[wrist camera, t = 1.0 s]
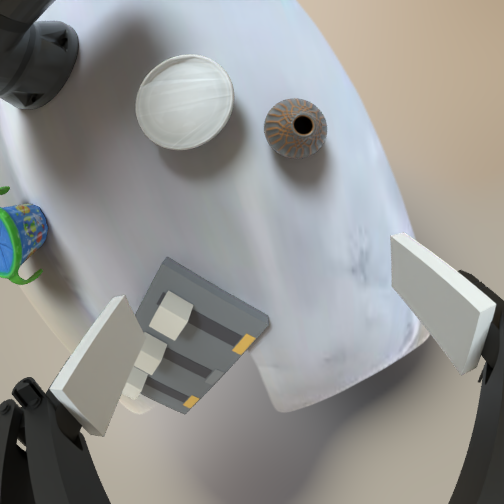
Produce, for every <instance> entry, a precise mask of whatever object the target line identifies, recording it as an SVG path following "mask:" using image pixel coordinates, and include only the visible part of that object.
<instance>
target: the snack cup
mask: <svg viewBox="0 0 504 504" xmlns="http://www.w3.org/2000/svg"><path fill="white" fill-rule="evenodd" d="M9 189H10V187H7V186H5V187H1V188H0V195H3V194H5V193H7V192H8V191H9ZM47 231H48V226H47V224H46V219H45V217H44V215H43V213H42V212H41V210H40V207H38V206H35V205H33V204H23V205H16V206H10V207H4V208H1V207H0V277H1V278H8V279H9V280H10V281H11V282H13V283H15V284H19V285H24V284H27V283H29V282H31V281H33V280H35V279H36V278H38V277H39V276H40V275H41V273H42V272H43V270H42V269H40V270H38V271H37V272H36V273H34V275H33V276H31V277H30V278H29V279H27V280H24V279H22V278H20V277H19V275H18V270H19V267H20V266H21V265H22V264H23V263H24V262H25V261H26V260H27V259H28V258H29V257H30V256H31V255H32V254H33V253H34V252H35V251H36V250H37V249H38V248H40V247H41V246H42V245H43V243H44V241H45V239H46V236H47Z"/></svg>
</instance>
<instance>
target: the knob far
mask: <svg viewBox="0 0 504 504" xmlns="http://www.w3.org/2000/svg"><path fill="white" fill-rule="evenodd" d="M147 376H148V374H147V373H145V372H143V371H141V370H139V369H138V368H136V367H134V366H133V368H132V371H131V373H130V375H129V378H128V380H127V382H126V384H125V387H124V389H123V391H122V394H124V395H126V396H127V397H129V398H131V399H133V400H136V399H137V397H138V395H139V394H140V392H141V391H142V389H143V386H144V384H145V381H146V378H147Z"/></svg>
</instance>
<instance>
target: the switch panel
mask: <svg viewBox="0 0 504 504" xmlns="http://www.w3.org/2000/svg"><path fill="white" fill-rule="evenodd" d="M168 290H169V291H170V292H172V293H174V294H175V295H177V296H179V297H181V298H182V299H184V300H186V301H187V302H189V303H191V304H193V308H192V311H191V314H190V317H189V320H188V322H187V324H186V325H185V327H184V328H183V330H182V331H181V332H180V334H179V335H178V337H177V338H176V340H175V341H174V340H172V339H170V338H169V337H167V336H165V335H163V334H162V333H160V332H158V331H156V330H155V329H153V328H151V327H149V325H150V323H151V321H152V319H153V317H154V315H155V313H156V311H157V309H158V307H159V306H160V304H161V302H162V300H163V299H164V297H165V295H166V293H167V292H168ZM135 317H136V319H137V321H138V323H139V325H140V327H141V329H142V331H143V332H146V333H148V334H150V335H152V336H153V337H155V338H157V339H159V340H160V341H162V342H164V343H166V344H167V347H166V350H165V352H164V355H163V358H162V360H161V362H160V364H159V365H158V367H157V368H156V370H155V371H154V373H153V374H152V375H150V374H148V373H147V374H148V376H147V378H146V381H145V384H144V386H143V389H142V391H141V392H140V393H141V394H142V395H144V396H146V397H148V398H150V399H152V400H154V401H156V402H159V403H161V404H163V405H165V406H167V407H169V408H171V409H174V410H176V411H178V412H180V413H183V414H186V413H187V412H188V411H189V410H190V409H191V408H192V407H193V406H194V405H195V404H196V403H197V402H198V401H199V400H200V399H201V398H202V397H203V396H204V395H205V394H206V393H207V392H208V391H209V390H210V389H211V388H212V387H213V385H215V383H216V382H217V381H218V380H219V379H220V378H221V377H222V376H223V375H224V374H225V373H226V372H227V371H228V370H229V369H230V368H231V366H232V365H233V364H234V363H235V362H236V361H237V360H238V359H239V358H240V357H241V356H242V354H243V353H244V352H245V351H246V350H247V349H248V348H249V347H250V346H251V345H252V343H253V342H254V341H255V340H256V339H257V338H258V337H259V336H260V334H261V333H262V332H263V331H264V330H265V329H266V328H267V326H268V325H269V321H268V315H266V314H264V313H262V312H261V311H259V310H257V309H255V308H254V307H252V306H250V305H248V304H246V303H245V302H243V301H241V300H239V299H238V298H236V297H234V296H232V295H231V294H229V293H227V292H225V291H224V290H222V289H220V288H219V287H217V286H215V285H213V284H212V283H210V282H208V281H207V280H205V279H203V278H202V277H200V276H198V275H197V274H195V273H193V272H192V271H190V270H188V269H187V268H185V267H183V266H182V265H180V264H178V263H177V262H175V261H174V260H172V259H170V258H169V257H166V259H165V260H164V262H163V263H162V265H161V267H160V268H159V270H158V272H157V274H156V276H155V278H154V280H153V281H152V283H151V285H150V287H149V289H148V291H147V293H146V295H145V297H144V299H143V301H142V303H141V305H140V307H139V308H138V310H137V312H136V314H135ZM134 367H135V366H134ZM136 368H137V367H136ZM138 369H139V368H138ZM139 370H141V369H139ZM141 371H143V370H141ZM143 372H144V371H143ZM145 373H146V372H145Z"/></svg>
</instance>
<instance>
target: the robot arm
mask: <svg viewBox="0 0 504 504" xmlns="http://www.w3.org/2000/svg"><path fill="white" fill-rule="evenodd" d="M54 1H55V0H0V98H1V99H3V100H5V101H6V102H8V103H10V104H12V105H13V106H15V107H17V108H21V109H35V108H38V107H41V106H43V105H44V104H46V103H47V102H49V101H50V100H51V99H52V98H53V97H54V96H55V95H56V94H57V93H58V92H59V91H60V89H61V88H62V87H63V85H64V84H65V82H66V80H67V79H68V77H69V75H70V73H71V71H72V69H73V66H74V63H75V60H76V57H77V51H78V38H77V34H76V32H75V30H74V29H73V28H72V27H71V26H69V25H67V24H65V23H63V22H60V21H39V22H35V21H36V20H37V19H38V18H39V17H40V16H41V15H42V14H43V12H44V11H45V10H46V9H47V8H48V7H49V6H50V5H51V4H52V3H53V2H54ZM390 240H391V266H392V287H393V289H394V290H395V291H396V292H397V293H398V294H399V296H400V297H401V298H402V299H403V300H404V302H405V303H406V304H407V305H408V306H409V308H410V309H411V310H412V311H413V313H414V314H415V315H416V316H417V317H418V319H419V320H420V321H421V322H422V324H423V325H424V326H425V328H426V329H427V330H428V331H429V333H430V334H431V335H432V337H433V338H434V339H435V340H436V342H437V343H438V344H439V346H440V347H441V348H442V350H443V351H444V353H445V354H446V355H447V357H448V358H449V359H450V361H451V362H452V364H453V365H454V366H455V367H456V369H457V371H458V372H459V373H460V374H461V375H463V374H465V373H467V372H469V371H471V370H473V369H475V368H476V367H477V365H478V362H479V359H480V357H481V355H482V357H483V358H484V359H485V360H486V363H485V365H484V368H483V370H482V373H481V375H480V377H479V380H478V382H481V380H482V386H481V393H480V399H479V405H478V410H477V415H476V420H475V425H474V429H473V433H472V437H471V441H470V444H469V448H468V451H467V455H466V458H465V461H464V464H463V467H462V470H461V474H460V476H459V479H458V482H457V484H456V487H455V489H454V492H453V494H452V497H451V499H450V501H449V504H504V301H503V300H502V299H501V298H500V297H499V296H498V295H496V294H495V293H494V292H493V291H492V290H490V289H489V288H488V287H485V285H484V284H483V283H482V282H479V280H478V279H477V278H475V277H474V276H473V275H472V274H469V273H467V272H464V271H461V270H459V271H456V270H455V269H453V268H452V267H451V266H450V265H448V264H447V263H446V262H444V261H443V260H442V259H440V258H439V257H438V256H436V255H435V254H434V253H432V252H431V251H430V250H428V249H427V248H425V247H424V246H422V245H421V244H420V243H418V242H417V241H416V240H414V239H413V238H411V237H410V236H408V235H407V234H405V233H404V232H403V233H399V234H395V235H391V236H390ZM145 340H146V336H145V334H144V332H143V331H142V329H141V327H140V325H139V323H138V321H137V319H136V317H135V315H134V313H133V311H132V309H131V307H130V305H129V303H128V300H127V298H126V296H125V295H123V296H118V297H113V298H112V300H111V301H110V302H109V304H108V305H107V306H106V308H105V309H104V310H103V312H102V313H101V314H100V316H99V317H98V318H97V320H96V321H95V322H94V324H93V325H92V326H91V328H90V329H89V331H88V332H87V333H86V335H85V336H84V338H83V339H82V340H81V342H80V343H79V345H78V346H77V348H76V349H75V350H74V352H73V353H72V355H71V356H70V357H69V358H68V360H67V361H66V363H65V365H64V367H62V369H61V370H60V373H59V374H58V375H57V376H56V378H55V380H54V381H53V383H52V384H51V386H50V387H49V389H48V391H47V392H46V394H45V393H44V392H43V390H42V389H41V388H40V387H39V385H38V384H37V383H36V382H35V380H34V379H33V378H32V377H27V378H24V379H23V380H21V381H20V382H18V383H17V384H16V386H15V387H14V389H13V391H12V395H13V396H14V397H15V399H16V400H17V401H18V402H19V404H20V405H21V406H22V407H19V406H18V405H17V404H16V403H15V401H14V400H12V399H9V400H6V401H4V402H3V403H1V404H0V504H111V503H110V501H109V499H108V497H107V495H106V492H105V490H104V488H103V486H102V483H101V481H100V479H99V476H98V474H97V471H96V469H95V466H94V464H93V461H92V458H91V455H90V453H89V450H88V447H87V444H86V441H85V438H84V436H83V435H82V433H80V429H81V427H83V428H84V429H85V430H86V431H87V432H88V433H89V434H91V435H95V436H102V437H104V436H105V433H106V430H107V428H108V426H109V423H110V420H111V418H112V415H113V413H114V411H115V408H116V406H117V403H118V401H119V399H120V396H121V394H122V391H123V389H124V387H125V384H126V382H127V380H128V378H129V375H130V373H131V371H132V368H133V366H134V364H135V362H136V359H137V357H138V355H139V353H140V351H141V349H142V346H143V344H144V342H145ZM17 439H18V440H19V441H20V442H21V443H22V444H23V445H24V446H26V451H24V450H22V449H21V448H20V447H19V446H18V445H17V444H16V443H17Z"/></svg>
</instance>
